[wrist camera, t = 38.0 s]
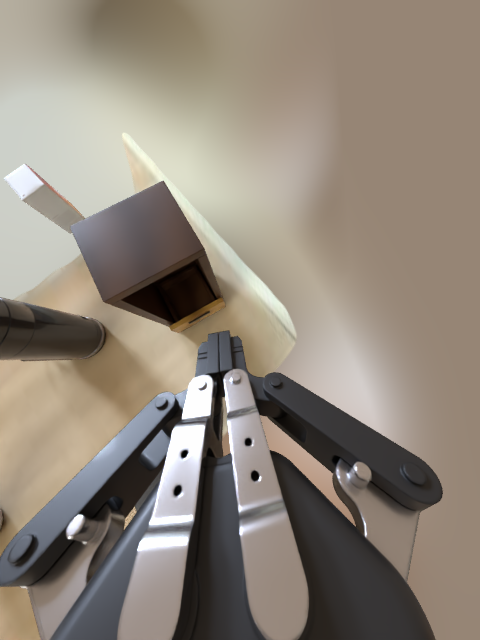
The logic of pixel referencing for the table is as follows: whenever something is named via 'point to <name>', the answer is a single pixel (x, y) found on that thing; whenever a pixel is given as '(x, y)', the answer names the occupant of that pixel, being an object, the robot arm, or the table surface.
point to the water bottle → (1, 518)
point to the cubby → (141, 251)
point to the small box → (43, 197)
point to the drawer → (188, 298)
